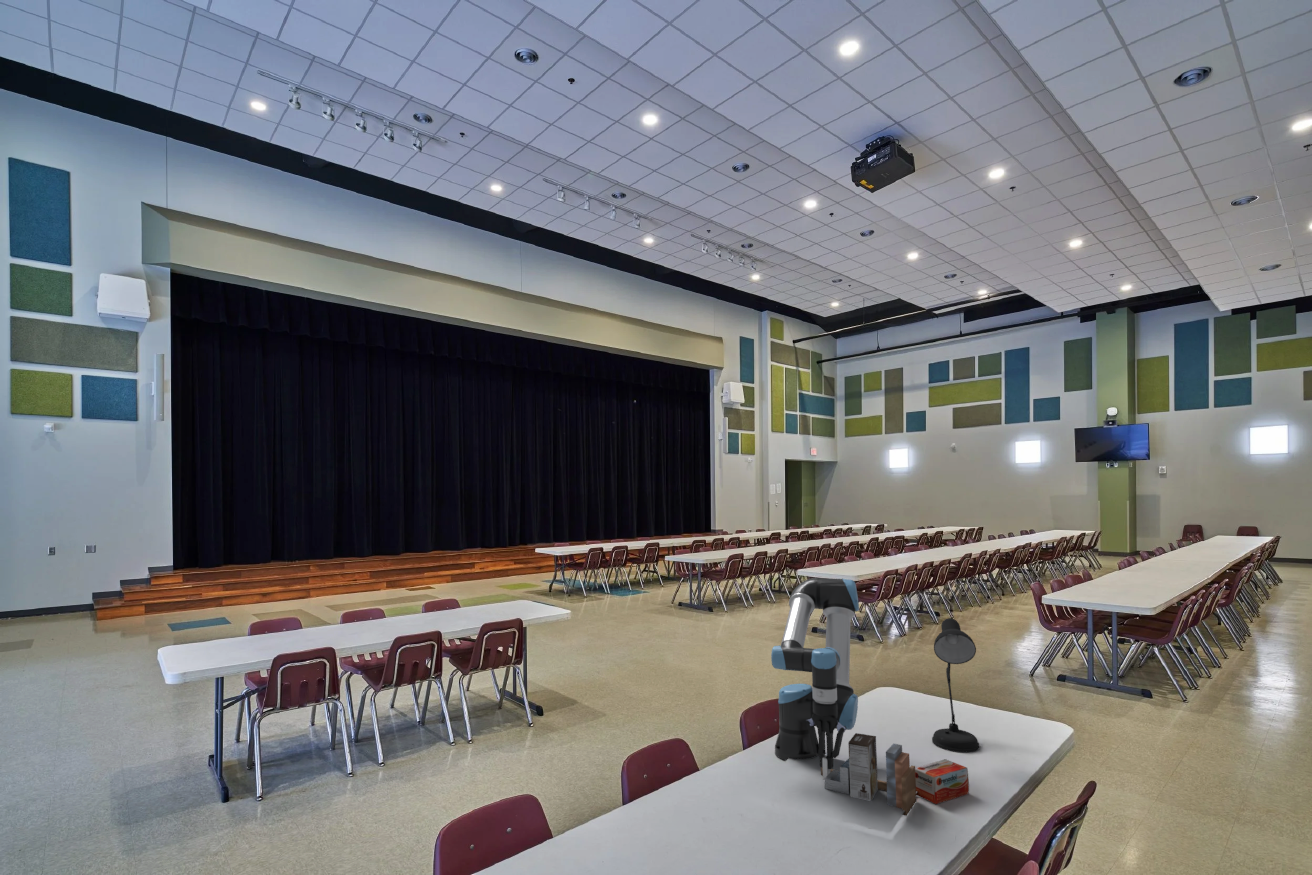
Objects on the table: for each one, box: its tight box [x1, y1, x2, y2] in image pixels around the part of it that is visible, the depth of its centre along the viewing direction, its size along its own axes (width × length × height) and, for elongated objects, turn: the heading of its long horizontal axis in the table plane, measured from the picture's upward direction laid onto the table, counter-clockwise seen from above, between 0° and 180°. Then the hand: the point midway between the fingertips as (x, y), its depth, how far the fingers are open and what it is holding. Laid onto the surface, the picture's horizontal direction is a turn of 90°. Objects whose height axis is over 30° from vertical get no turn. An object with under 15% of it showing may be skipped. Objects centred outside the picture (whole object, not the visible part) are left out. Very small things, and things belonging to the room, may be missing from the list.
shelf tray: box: [820, 743, 917, 817], centre depth 201 cm, size 29×11×16 cm, turn 55°
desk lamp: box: [931, 617, 980, 753], centre depth 242 cm, size 24×26×45 cm
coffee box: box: [847, 732, 879, 802], centre depth 200 cm, size 9×6×16 cm
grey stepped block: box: [824, 758, 850, 796], centre depth 204 cm, size 8×8×8 cm
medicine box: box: [915, 758, 970, 805], centre depth 201 cm, size 15×8×8 cm, turn 118°
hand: (826, 778), depth 206 cm, fingers closed
